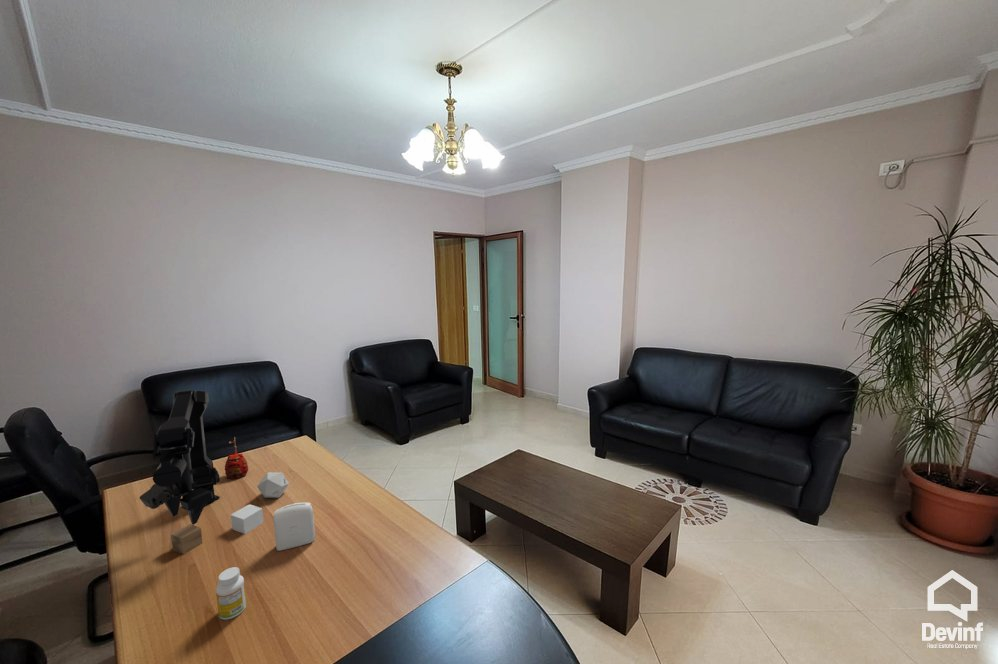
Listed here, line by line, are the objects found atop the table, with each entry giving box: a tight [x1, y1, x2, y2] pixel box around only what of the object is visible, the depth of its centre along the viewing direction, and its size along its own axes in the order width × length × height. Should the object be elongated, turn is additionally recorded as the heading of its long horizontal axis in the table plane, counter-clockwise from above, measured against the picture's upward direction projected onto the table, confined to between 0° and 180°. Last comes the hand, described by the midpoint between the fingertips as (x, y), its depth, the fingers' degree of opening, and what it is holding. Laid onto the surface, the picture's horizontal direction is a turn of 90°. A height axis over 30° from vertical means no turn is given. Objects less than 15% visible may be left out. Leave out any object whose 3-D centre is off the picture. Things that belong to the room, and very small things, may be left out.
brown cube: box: [170, 523, 204, 555], centre depth 110 cm, size 5×5×5 cm
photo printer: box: [273, 502, 316, 552], centre depth 111 cm, size 10×4×12 cm, turn 114°
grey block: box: [230, 503, 265, 535], centre depth 119 cm, size 6×6×5 cm
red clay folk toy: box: [224, 436, 249, 480], centre depth 149 cm, size 8×7×15 cm
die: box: [256, 471, 290, 499], centre depth 136 cm, size 8×9×10 cm
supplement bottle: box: [215, 566, 247, 620], centre depth 89 cm, size 5×5×10 cm
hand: (184, 519), depth 109 cm, fingers open, 9 cm apart
